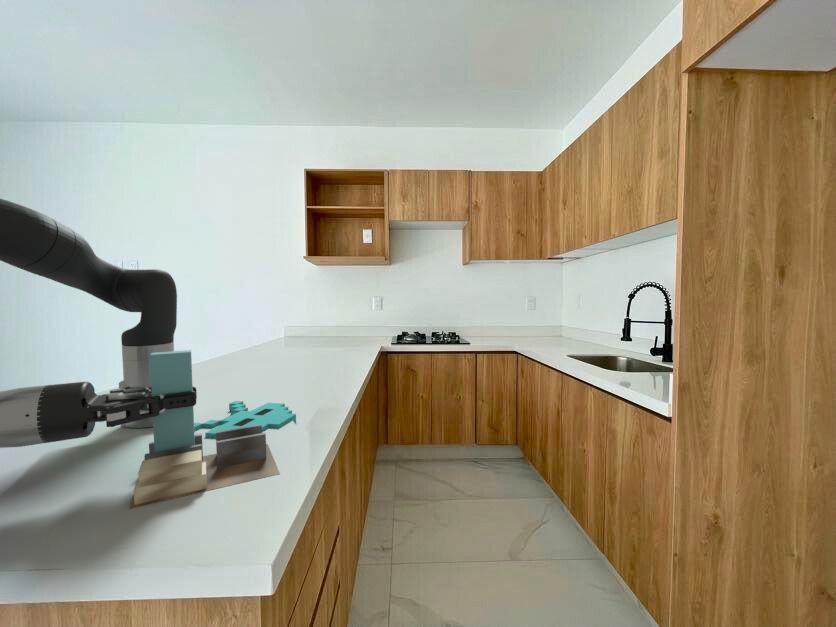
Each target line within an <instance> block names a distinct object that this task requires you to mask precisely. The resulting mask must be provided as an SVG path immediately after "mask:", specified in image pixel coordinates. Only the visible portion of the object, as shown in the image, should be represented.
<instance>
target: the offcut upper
mask: <svg viewBox="0 0 836 627" xmlns="http://www.w3.org/2000/svg"><path fill="white" fill-rule="evenodd" d="M201 474H202V450H197V451H192V452H186V453H181V454H175V455H170V456H164V457H159V458H154V459H148V460H145V459H144V460H142V461H141V465H140V467H139V469H138V473H137V475H138V477H139V487H144V486H149V485H154V484H158V483H163V482H168V481H172V480H177V479H182V478H187V477H191V476H196V475H201ZM138 477H137V478H138Z"/></svg>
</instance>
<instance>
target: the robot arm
mask: <svg viewBox="0 0 836 627" xmlns="http://www.w3.org/2000/svg"><path fill="white" fill-rule="evenodd" d="M92 248H93V247H91V245H90V244H89V242H88V241H87V240H86V239H85V238H84V237H83V235H81V234H80V233H78V232H76V231H75V230H73V229H72V228H70V227H69V226H66V225H65V224H63V223H61V222H59V221H57V220H55V219H53V218H52V217H50V216H48V215H46V214H44V213H41V212H39V211H36V210H34V209H32V208H30V207H27V206H25V205H21V204H20V203H15V202H12V201H10V200H7V199H3V198H0V261H1V262H4V263H6V264H8V265H11V266H13V267H15V268H17V269H20V270H23V271H25V272H27V273H31V274H33V275H37V276H39V277H42V278H45V279H49V280H51V281H53V282H56V283H59V284H62V285H64V286H68V287H70V288H74V289H77V290H80V291H83V292H85V293H87V294H89V295H91V296H93V297H94V298H97V299H99V300H101V301H102V302H104V303H107V304H108V305H110V306H112V307H114V308H116V309H119V310H121V311H123V312H128V313H140V320H139V322H138V323H137V324H136V325H135V326H133V327H131V328H128V329H126V330H124V331H123V332H122V333H121V338H120V339H121V340H120V341H121V355H122V356H121V357H122V369H123V370H122V372H123V373H122V375H123V380H121V381H119V382H118V388H115V389H110V390H109V393H105V394H99V395H98V394H97V393H96V391H95V387H94V385H93V384H92V383H91V382H89V381H78V382H68V383H67V382H66V383H58V384H45V385H36V386H27V387H18V388H13V389H8V390H7V389H6V390H3V391H0V449H2V448H3V449H5V448H8V449H9V448H20V447H22V448H23V447H27V446H28V447H29V446H35V445H42V444H50V443H54V442H55V443H56V442H62V441H68V440H75V439H82V438H87V437H89V436H90V435H91V434H92V433H93V431H94V430H95V426H96V423H101V422H102V423H103V422H106V423H105V424H106V427H107V428H114V427H117V426H120V427H121V428H122V427H123V428H124V427H126V428H129V429H131V428H132V429H141V428H142V429H143V428H151V427H153V417H156V416H158V415H159V413H162V412H164V411H166V408H167V409H175V408H182V407H190V406H193V407H194V406H195V405H196V404H197V400H198V399H197V397H198V396H197V393H198V392H197V387H196V386H193V391H186V392H178V393H169V394H166V396H165V394H162V393H160V394H154V395H152V386H151V364H150V355H151V353H155V352H170V351H175V344H174V343H175V342H174V338H175V337H174V336H175V332H176V329H177V322H178V321H177V317H178V316H177V315H178V312H177V310H178V309H177V308H178V307H177V306H178V293H177V292H178V291H177V286H176V285H177V284H176V282H175V280H174V278H173V276H172V275H171V274H170V273H169V272H167V271H165V270H163V269H154V268H153V269H127V268H124V267H120V266H118V265H115V264H112V263H110V262H108V261H105V260H104V259H102V258H100V257H99V256H97V255H96V254H95V252H94V250H93V249H92Z"/></svg>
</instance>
